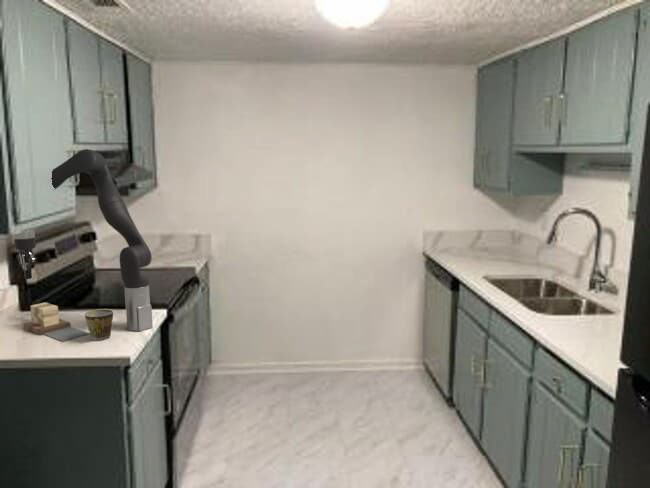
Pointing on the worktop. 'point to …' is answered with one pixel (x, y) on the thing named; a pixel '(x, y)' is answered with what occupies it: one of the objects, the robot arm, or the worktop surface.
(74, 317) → the worktop surface
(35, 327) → the brown flat slab
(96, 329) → the ceramic cup
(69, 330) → the mat
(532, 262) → the worktop surface
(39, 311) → the block
